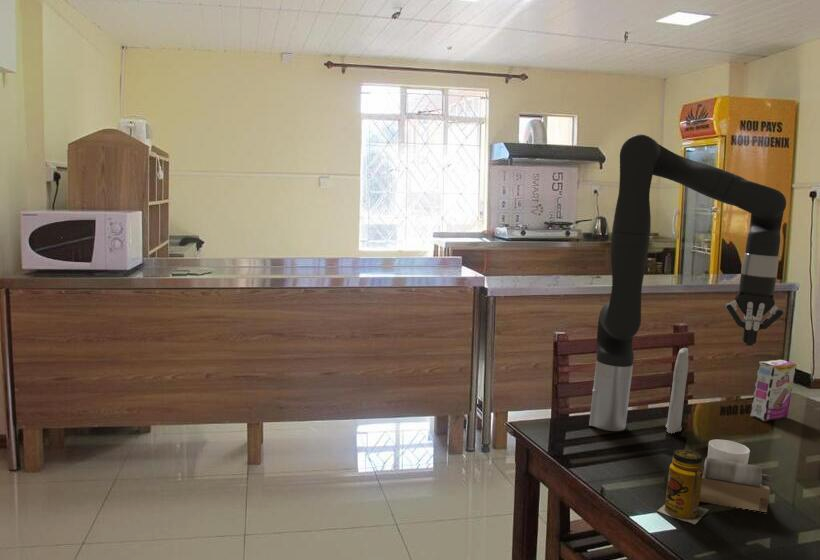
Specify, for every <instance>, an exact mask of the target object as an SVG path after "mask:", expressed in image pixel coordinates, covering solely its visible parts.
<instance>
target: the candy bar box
mask: <svg viewBox="0 0 820 560" xmlns="http://www.w3.org/2000/svg"><path fill="white" fill-rule="evenodd" d="M757 367H758V368H757V372H756V373H757V374H756V378H755V384H754V389H753V397H752V403H751V409H750V414H749V415H750V417H752V418H753V419H757V420H759V421H763V422H768V421H774V420H779V419H784V418H785V419H786V418H788V414H789V408H790V402H791V397H792V390H793V386H794V379H795V373H796V368H797V363H794V362H792V361H787V360H784V359H776V360H775V359H774V360H767V361H765V360H763V361H759V362H758V366H757Z"/></svg>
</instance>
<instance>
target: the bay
mask: <svg viewBox="0 0 820 560" xmlns="http://www.w3.org/2000/svg"><path fill="white" fill-rule="evenodd" d="M763 481H765V482H769V483H773V482H774V481H775V476H774V475H771V474H770V475H769V474H764V473H763V467H762V466H760V465H756V464H755V465H754V464H743V463H737V462H731V461H725V460H719V459H713V458H707V457H705V459H704V464H703V477H702V483H701V491H700V499H699V502H702V503H708V504H712V505H717V504H718V506H723V505H724V506H723V507H728V506H730V508H734V507H736V508H735V509H739V508H742V509H741V510H745V509H749V510H748V511H750V510H757V511H761V512H767V513H768V506H769V499H770V493H771V489H770V486H769V485H768V486H767V485H762V482H763ZM761 512H760V513H761Z"/></svg>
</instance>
